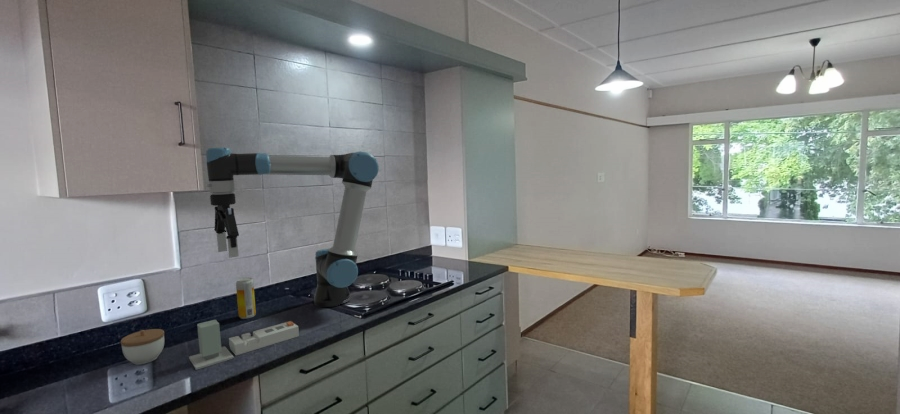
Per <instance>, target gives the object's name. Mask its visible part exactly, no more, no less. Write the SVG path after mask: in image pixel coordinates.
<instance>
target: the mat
mask: <svg viewBox="0 0 900 414" xmlns="http://www.w3.org/2000/svg"><path fill="white" fill-rule="evenodd" d="M221 349H222V352H219V356H218V357H215V358H211V359H208V360H205V358H204V357H203V356H202V355H201V353H200V352H199V353H196V354H193V355H190V356H188V360H189V361H190V362H191V364H192V366H193V367H194V369H195V370H196V371H197V370H200V369H203V368H207V367H209V366H213V365H216V364H220V363H223V362H226V361H228V360H232V359H234V355H233V354H232V353H231V351H229V348H227V347H226V346H225V345H224V346H221Z"/></svg>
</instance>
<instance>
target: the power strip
mask: <svg viewBox="0 0 900 414" xmlns="http://www.w3.org/2000/svg"><path fill="white" fill-rule="evenodd" d="M299 330H300V329H299V325H297V324H296V323H294V322H293V321H292V320H289V321H285V322H282V323H278V324H274V325H271V326H268V327H263V328H260V329H257V330H253V331H252V336H251V333H250V332H245V333H243V334H241V337H240V336H239V335H236V336H231V337H229V338H228V343H229V344H228V346H229V350H231V351H230V352H232V353H233V354H234V355H235V356H239V355H242V354H246V353H249V352H252V351H255V350H258V349H262V348H265V347H269V346H272V345H274V344H278V343H281V342H285V341H289V340H290V339H294V338H297V337H299V336H300V331H299Z"/></svg>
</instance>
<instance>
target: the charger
mask: <svg viewBox="0 0 900 414" xmlns="http://www.w3.org/2000/svg"><path fill="white" fill-rule="evenodd" d="M196 326H197V336H198V337H197V338H198V346H199V354H200V353H201V355H202V356H203V357H204V358H205V360H208V359H211V358H215V357H218V356H219V352H222V349H221V347H222V342H221V341H222V339H221V329H220V322H218V321H217V319H212V320H208V321H204V322H203V321H202V322H200V323H197V325H196Z"/></svg>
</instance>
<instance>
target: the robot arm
mask: <svg viewBox="0 0 900 414" xmlns="http://www.w3.org/2000/svg"><path fill="white" fill-rule="evenodd" d="M205 154H206V167H207V168H206V169H207V178H208V184H207V188H209V193H210V195H209V200H210V205H211V206H212V207H213V206H214V229H213V231H214V232H215V233H216V242H217V250H218V251H217V252H218V253H222V252H227V251H228V258H236V257H239V246H238V237H239V236H240V233H239V230H238V225H237V224H238V223H237V219H236V217H235V211H234V210H235V209H234V207H231V205H235V204H236V194H235V193H234V192H236V190H235V180H234V176H251V175H252V176H257V175H260V176H261V175H262V176H263V175H267V176H268V175H276V176H277V175H279V176H281V175H282V176H284V175H286V176H329V177H330V178H332V179H341V180H342V181H341V183H342V184H343V186H344V191H343V194H342V201H341V205H340V211H339V217H338V220H337V226H336V229H335V236H334V239H333V245H332V246H331V247H330V248H325V249H319V250H316V251H315V257H314V259H315V269H316V271H315V272H316V284H317V285H316V288H315V293H314V297H313V304H314V305H315V306H317V307H322V308H331V307H333V308H334V307H338V305H339V306H341V305H340V304H341V303H342V302H343V301H344V300H346V299H348V298H349V297H350V298H351V293H350V290H349V286H350V285H352V284H354V282H355V281H356V279H358V274H359V268H358V265H357V260H358V255H359V254H358V253H357V251H356V246H357V240H358V235H359V231H360V225H361V221H362V215H363V211H364V206H365V202H366V201H365V200H366V196H367V192H368V191H370V190H371V189H372V185H373V181H374V180H375V178H376V177H377V176H378V174H379V168H380V167H379V163H378V161H377V159H376V157H375V156H374V155H373V154H371V153H369V152H368V151H367V152H366V151H356V152H350V153H344V154H331V155H329V156H307V155H306V156H305V155H303V156H302V155H301V156H299V155H298V156H297V155H272V154H271V155H270V154H268V153H266V152H265V153H264V152H263V153H260V152H257V153H254V152H252V153H251V152H250V153H233V152H232V149H231V148H229V147H210V148H207V150H206V153H205Z"/></svg>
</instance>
